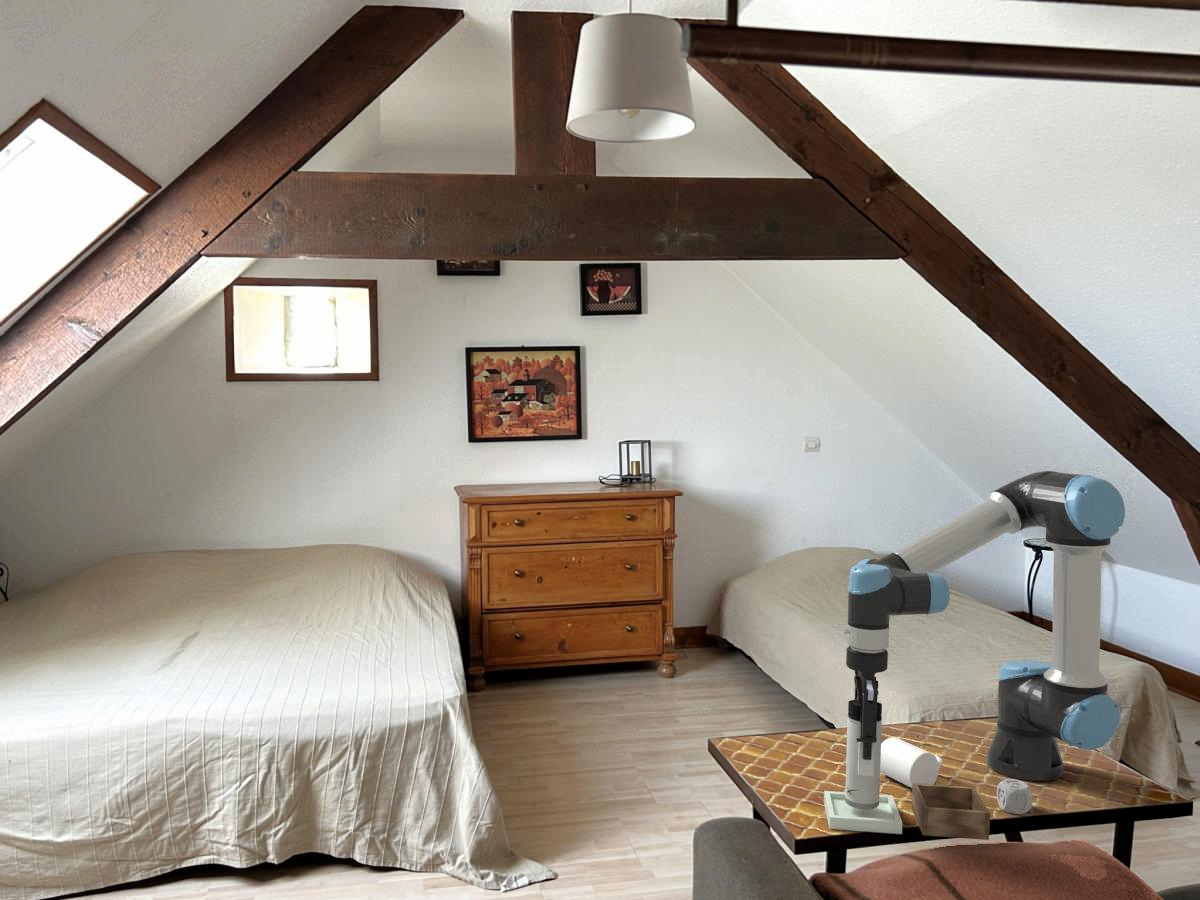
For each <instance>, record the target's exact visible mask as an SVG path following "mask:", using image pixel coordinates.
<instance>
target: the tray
mask: <svg viewBox="0 0 1200 900" xmlns="http://www.w3.org/2000/svg"><path fill="white" fill-rule="evenodd" d="M845 793H846V792H845V791H831V790H824V791H823V804H824V805H823V806H824V810H825V815H826V819H827V823H828V829H829V830H839V831H840V830H842V831H852V832H853V831H854V832H868V833H880V834H882V833H883V834H895V835H902V834H903V820H902V818H901V815H900V812H899V810H898V807H897V804H896V802H895V800H894V795H888V794H879V806H878V807H877V808H874V809H870V810H862V809H857V808H854V807H851V806H849V805H848V804H847V803H846V802H845Z"/></svg>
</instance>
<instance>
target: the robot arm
mask: <svg viewBox="0 0 1200 900" xmlns="http://www.w3.org/2000/svg"><path fill="white" fill-rule="evenodd" d="M1125 507H1126V506H1125V502H1124V499H1123V497H1122V495H1121V493H1120V491H1119V490H1118V489H1117V488H1116V487H1115V486H1114V485H1113V484H1112V483H1111V482H1109V481H1107V480H1105V479H1103V478H1098V477H1096V476H1091V475H1088V474H1078V473H1077V474H1075V473H1068V472H1067V473H1066V472H1059V471H1053V470H1051V471H1050V470H1043V471H1037V472H1033V473H1030V474H1028V475H1025V476H1022V477H1020V478H1017V479H1014V480H1013V481H1011V482H1009V483H1007V484H1005V485H1002V486H1000V487H999V488H997V489H995V490H993V491H991V492H990V493H988V495H987V497H986V499H985V501H984V502H981V504H977V505H976V506H975V507H973V508H971V509H969V510H967V511H965V512H964V513H961V514H960V515H958V516H956V517H955V518H953V519H951V520H949V521H947V522H945V523H944V524H941V525H939V526H938V527H936V528H935V529H933V530H931V531H929V532H927V533H926V534H923V535H922V536H920V537H918V538H916V539H915V540H913V541H911V542H909V543H907V544H906V545H904V546H902V547H900V548H898V549H896V550H895V551H893V552H891V553H889V554H887V555H885V556H883V557H882V558H879V559H876V558H865V559H862V560H860V561H859V562H858V563H857V564H855V565H853V566H852V567H851V568H850V570H849V576H848V586H847V591H848V593H847V594H848V597H847V599H848V600H847V628H845V629H844V631H843V634H845V635H847V636H846V637H847V639H846V641H847V642H846V644H847V646H848V647H846V659H845V664H846V667H847V668H848V669H850V670H852V671H854V679H853V680H854V699H853V700H857V701H858V703H859V704H860V705H861V716H860V738H856V741H857V742H859V755H858V775H862V776H873V771H874V743H876V741H877V738H876V730H877V702H878V697H879V680H877V676H875V674H878V673H883V672H885V671H887V669H888V665H889V663H888V662H889V660H888V659H889V651H888V648H889V643H890V617H891V616H892V617H893V616H909V615H932V614H937V613H942V612H944V611H945V610H946V609H947V607H948V606H949V604H950V594H951V590H950V587H949V584H948V582H947V580H946V579H945V577H944V576H942V575H941V574H939V573H936V572H937V571H939V570H941V569H944V568H946V566H949V565H950V564H952V563H954V562H955V561H957V560H959V559H961V558H964V557H965V556H966V555H968V554H970V553H972V552H974V551H975V550H977V549H979V548H981V547H982V546H985V545H986V544H989V543H990V542H991V541H993V540H995V539H997V538H999V537H1001V536H1002V535H1004V534H1006V533H1008V534H1011V535H1013V534H1017V533H1018V532H1020V531H1022V530H1024V529H1028V528H1033V527H1034V528H1035V527H1038V528H1039V527H1042V528H1045V542H1046V544H1047V545H1048V546H1050V548H1051V549H1052V551H1053V571H1052V572H1053V575H1052V576H1053V580H1052V581H1053V582H1052V583H1053V585H1052V586H1053V587H1052V588H1053V589H1052V637H1051V639H1052V644H1051V645H1052V646H1051V647H1052V648H1051V649H1052V650H1051V652H1052V654H1051V662H1050V661H1049V662H1048V661H1041V660H1027V659H1026V660H1011V661H1010V660H1009V661H1007V662H1004V663H1003V664H1002V665H1000V669H999V676H998V680H997V682H998V692H997V694H998V696H997V721H996V722H997V724H996V725H997V726H996V730H995V731H994V732H995V733H994V735H993V737H992V739H991V743H990V745H989V747H988V749H987V753H986V764H987V765H988V767H989V768H990V769H992V770H993V771H995V772H996V773H999V774H1002V775H1003V776H1007V777H1011V778H1012V779H1013V778H1014V779H1016V780H1023V781H1029V782H1031V781H1032V782H1048V781H1049V782H1051V781H1054V780H1055V781H1056V780H1058V779H1060V778H1061V777H1063V775H1064V760H1063V757H1062V754H1061V753H1062V752H1061V749H1060V747H1059V743H1058V741H1057V739H1059V740H1060V741H1062V742H1063V743H1065V744H1067V745H1068V746H1072V747H1075V748H1078V749H1079V750H1085V751H1092V750H1097V749H1100V748H1102V747H1103V746H1105V745H1106V744H1108V743H1109V742H1110V740H1111V739H1112V738H1114V736H1115V735H1116V733H1117V732H1118V730H1119V727H1120V723H1121V714H1122V713H1121V708H1120V707H1119V704H1118V703H1117V702H1116V700H1114V699H1113V698H1112V697H1110V696H1109V695H1108V683H1109V681H1108V679H1107V678H1108V677H1106V676H1105V675H1104V674H1103V673H1102V672H1101V671H1100V661H1101V660H1100V659H1101V658H1100V657H1101V655H1100V652H1101V609H1102V608H1101V607H1102V606H1101V603H1102V600H1101V599H1102V597H1101V596H1102V555H1103V554H1102V553H1103V552H1104V551H1105V550H1106V549H1108V548H1109V547H1110V546H1111V538H1112V537H1113V536H1115V535H1117V534H1118V532H1119V531H1120V527H1123V524H1124V522H1125V516H1126V508H1125ZM862 705H863V709H862Z"/></svg>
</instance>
